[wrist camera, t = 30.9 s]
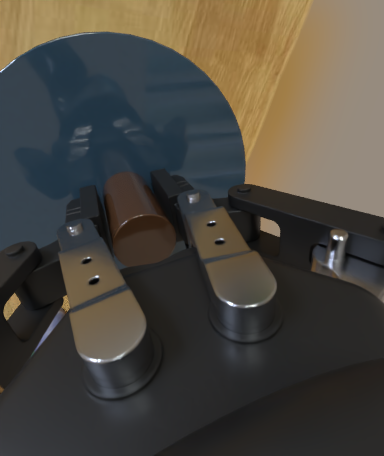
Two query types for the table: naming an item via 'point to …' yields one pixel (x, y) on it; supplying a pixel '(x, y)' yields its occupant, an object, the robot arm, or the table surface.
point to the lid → (109, 139)
